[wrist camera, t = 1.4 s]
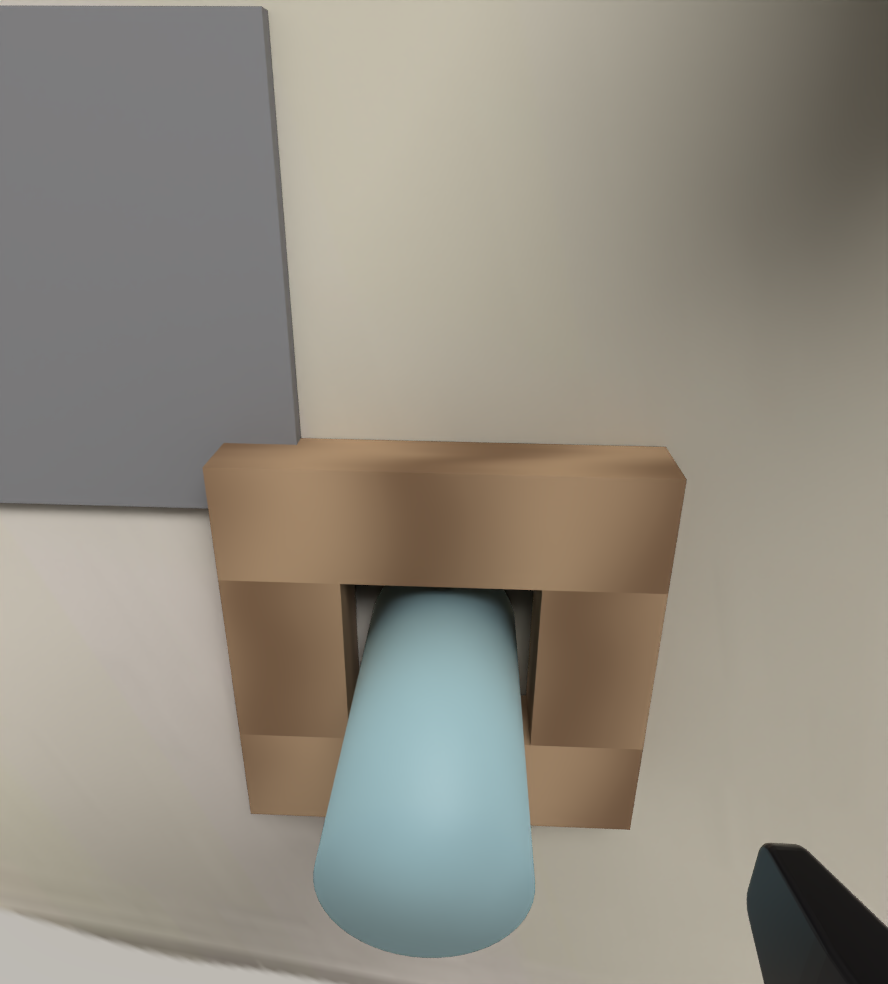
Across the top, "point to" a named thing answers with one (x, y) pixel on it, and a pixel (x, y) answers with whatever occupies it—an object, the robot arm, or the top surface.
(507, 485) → the pocket block
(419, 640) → the peg
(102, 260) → the mat
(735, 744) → the top surface
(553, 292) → the top surface
